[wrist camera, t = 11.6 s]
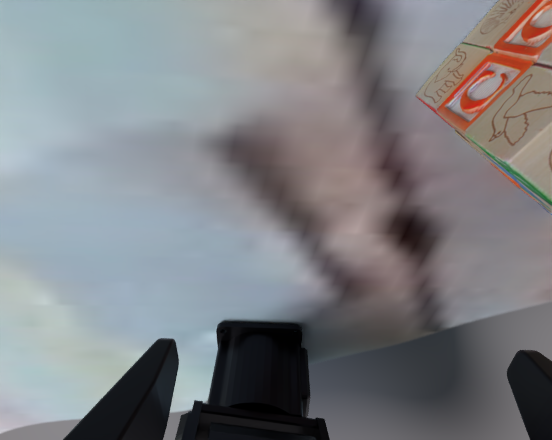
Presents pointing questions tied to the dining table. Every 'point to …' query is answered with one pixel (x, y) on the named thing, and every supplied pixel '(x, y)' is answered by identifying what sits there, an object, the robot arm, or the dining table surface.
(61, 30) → the dining table surface
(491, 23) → the stack of blocks
